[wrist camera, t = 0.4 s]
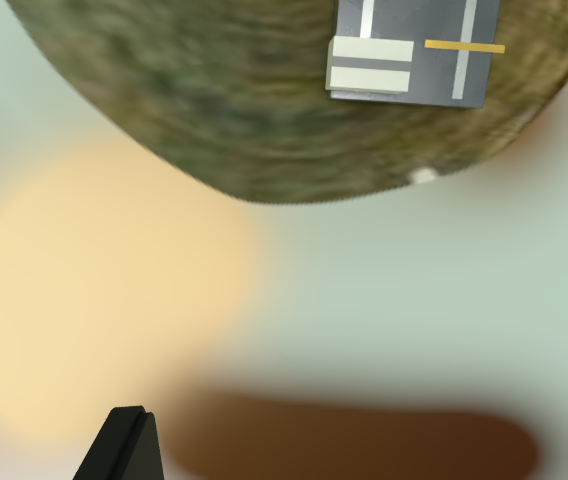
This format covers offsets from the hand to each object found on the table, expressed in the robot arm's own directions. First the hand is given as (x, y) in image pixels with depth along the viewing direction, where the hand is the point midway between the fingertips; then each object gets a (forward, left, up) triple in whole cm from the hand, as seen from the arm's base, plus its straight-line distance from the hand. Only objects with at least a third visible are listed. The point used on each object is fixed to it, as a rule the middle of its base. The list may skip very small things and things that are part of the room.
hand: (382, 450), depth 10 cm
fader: (-10, +3, -26) cm, 28 cm away
